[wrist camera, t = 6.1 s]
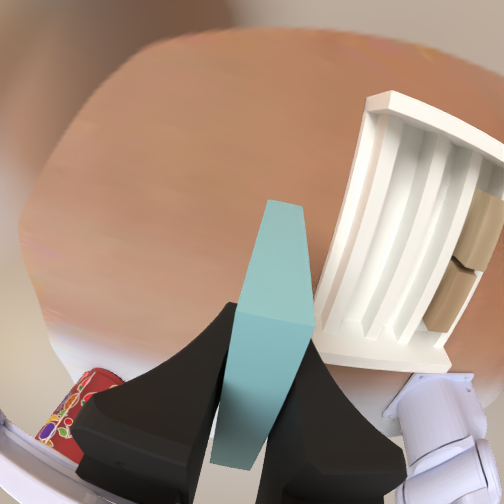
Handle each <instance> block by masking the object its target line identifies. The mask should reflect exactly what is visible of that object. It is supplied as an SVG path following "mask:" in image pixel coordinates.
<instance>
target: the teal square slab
mask: <svg viewBox="0 0 504 504" xmlns="http://www.w3.org/2000/svg"><path fill="white" fill-rule="evenodd" d="M314 328H315V317H314V306H313V294H312V284H311V274H310V264H309V255H308V246H307V238H306V230H305V222H304V214H303V206H299V205H294V204H289V203H285V202H280V201H275V200H270V199H268V202H267V205H266V208H265V212H264V215H263V219H262V222H261V226H260V229H259V233H258V236H257V239H256V243H255V246H254V250H253V253H252V257H251V260H250V263H249V267H248V270H247V274H246V277H245V281H244V284H243V288H242V291H241V294H240V298H239V301H238V305H237V308H236V312H235V318H234V323H233V329H232V335H231V341H230V346H229V352H228V358H227V364H226V370H225V375H224V381H223V387H222V393H221V399H220V405H219V411H218V417H217V422H216V428H215V434H214V440H213V447H212V452H211V458H210V463H213V464H217V465H222V466H227V467H232V468H238V469H243V470H250V469H251V468H252V466H253V464H254V462H255V460H256V458H257V456H258V454H259V452H260V450H261V448H262V446H263V444H264V442H265V440H266V438H267V436H268V434H269V432H270V430H271V428H272V426H273V424H274V422H275V420H276V418H277V416H278V413H279V411H280V409H281V407H282V405H283V403H284V400H285V398H286V396H287V394H288V391H289V389H290V387H291V385H292V382H293V380H294V378H295V375H296V373H297V371H298V368H299V366H300V364H301V361H302V359H303V356H304V354H305V351H306V349H307V346H308V344H309V341H310V339H311V336H312V334H313V331H314Z"/></svg>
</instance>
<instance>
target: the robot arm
mask: <svg viewBox="0 0 504 504" xmlns="http://www.w3.org/2000/svg"><path fill="white" fill-rule="evenodd" d="M237 305H238V304H236V303H232V302H229V303H227V304H226V305H225V307H224V308H223V310H222V311H221V312H220V313H219V315H218V316H217V317H216V318H215V319H214V320H213V322H212V323H211V324H210V325H209V326H208V327H207V328H206V329H205V330H204V331H203V332H202V333H201V334H200V335H199V336H197V337H196V338H195V339H194V340H193V341H192V342H191V343H189V344H188V345H187V346H186V347H185V348H183V349H182V350H181V351H180V352H178V353H177V354H175V355H174V356H173V357H171V358H170V359H168V360H167V361H165V362H164V363H162V364H160V365H159V366H157V367H155V368H154V369H152V370H150V371H148V372H147V373H145V374H142V375H140V376H138V377H136V378H134V379H132V380H130V381H128V382H125V383H123V384H121V385H118V386H115V387H112V388H109V389H107V390H104V391H101V392H98V393H94V394H93V395H92V396H91V397H90V398H89V399H88V401H87V402H86V403H85V404H84V405H83V407H82V408H81V409H80V411H79V413H78V414H77V416H76V418H75V419H74V421H73V423H72V424H71V426H70V432H71V435H72V437H73V439H74V440H75V442H76V443H77V444H78V446H79V447H80V449H81V450H82V452H83V453H84V455H83V457H82V459H81V461H80V463H79V464H77V463H75V462H73V461H71V460H69V459H67V458H66V457H64V456H62V455H60V454H59V453H57V452H55V451H54V450H52V449H50V448H49V447H47V446H45V445H44V444H42V443H41V442H39V441H38V440H36V439H35V438H33V437H31V436H30V435H29V434H27V433H26V432H24V431H23V430H21V429H20V428H19V427H17V426H16V425H14V424H13V423H12V422H11V421H9V420H8V419H7V418H6V416H5V415H4V414H3V412H2V411H1V409H0V487H2V488H3V489H4V490H5V491H6V492H7V493H8V494H10V495H11V496H12V497H13V498H15V499H16V500H17V501H18V502H19V503H21V504H112V503H111V502H114V503H116V504H193V500H194V496H195V492H196V488H197V484H198V480H199V476H200V472H201V468H202V464H203V459H204V456H205V451H206V448H207V443H208V440H209V436H210V432H211V428H212V424H213V420H214V417H215V413H216V410H217V408H218V405H219V402H220V399H221V393H222V387H223V381H224V375H225V370H226V364H227V358H228V352H229V346H230V341H231V335H232V329H233V323H234V318H235V312H236V308H237ZM473 378H474V374H473V373H446V374H440V373H417V372H415V373H414V374H413V375H412V376H411V378H410V379H409V380H408V382H407V383H406V384H405V386H404V387H403V388H402V390H401V391H400V392H399V394H398V395H397V396H396V398H395V399H394V400H393V401H392V403H391V404H390V405H389V406H388V408H387V409H386V410H385V411H384V413H383V414H382V415H383V417H384V418H399V421H400V426H401V430H402V435H403V439H404V444H405V449H406V454H407V460H408V465H409V467H408V468H406V463H405V458H404V454H403V450H402V449H401V448H400V447H399V446H397V445H396V444H395V443H393V442H392V441H391V440H389V439H388V438H387V437H386V436H384V435H383V434H382V433H381V432H379V431H378V430H377V429H376V428H375V427H374V426H373V425H372V424H371V423H370V422H368V421H367V419H366V418H365V417H364V416H363V415H362V414H361V413H360V412H359V411H358V410H357V409H356V408H355V407H354V406H353V404H352V403H351V402H350V401H349V400H348V399H347V397H346V396H345V395H344V393H343V392H342V391H341V389H340V388H339V387H338V385H337V384H336V382H335V381H334V379H333V378H332V376H331V374H330V373H329V371H328V369H327V368H326V366H325V364H324V362H323V361H322V359H321V357H320V355H319V353H318V351H317V349H316V347H315V345H314V343H313V341H312V339H310V341H309V344H308V346H307V349H306V351H305V354H304V356H303V359H302V361H301V364H300V366H299V368H298V371H297V373H296V375H295V378H294V380H293V382H292V385H291V387H290V389H289V391H288V394H287V396H286V398H285V400H284V403H283V405H282V407H281V409H280V411H279V413H278V416H277V418H276V420H275V422H274V424H273V426H272V428H271V430H270V432H269V434H268V440H267V446H266V452H265V458H264V464H263V469H262V474H261V479H260V485H259V489H258V494H257V499H256V503H255V504H384V495H386V494H387V493H389V492H390V491H392V490H394V489H395V488H396V490H395V504H499V503H500V502H501V496H502V489H501V485H500V482H501V481H500V477H499V472H498V469H497V465H496V462H495V459H494V456H493V453H492V450H491V447H490V445H489V442H488V440H485V439H484V437H485V434H486V430H487V419H486V415H485V413H484V410H483V408H482V405H481V403H480V401H479V399H478V396H477V394H476V392H475V390H474V388H473V385H472V383H471V380H472V379H473ZM99 496H100V497H99ZM101 497H102V498H101ZM103 498H105V499H107V500H109V501H111V502H109V501H107V500H105V499H103Z"/></svg>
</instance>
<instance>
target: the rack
mask: <svg viewBox="0 0 504 504" xmlns="http://www.w3.org/2000/svg"><path fill="white" fill-rule="evenodd" d="M475 187H477V188H479V189H481V190H483V191H485V192H487V193H489V194H491V195H493V196H495V197H497V198H499V199H501V200H503V201H504V144H502V143H501V142H499V141H497V140H496V139H494V138H492V137H491V136H489V135H487V134H485V133H484V132H482V131H480V130H478V129H477V128H475V127H473V126H471V125H469V124H467V123H465V122H464V121H462V120H460V119H458V118H456V117H454V116H452V115H450V114H448V113H445V112H443V111H441V110H439V109H437V108H435V107H432V106H430V105H428V104H426V103H423V102H421V101H418V100H416V99H414V98H411V97H409V96H406V95H403V94H401V93H398V92H395V91H393V90H390V91H387V92H383V93H380V94H377V95H373V96H370V97H367V98H366V103H365V108H364V113H363V118H362V123H361V128H360V132H359V137H358V141H357V146H356V150H355V154H354V159H353V163H352V167H351V171H350V175H349V179H348V183H347V187H346V191H345V195H344V199H343V202H342V206H341V210H340V213H339V217H338V220H337V224H336V228H335V231H334V234H333V238H332V241H331V245H330V248H329V251H328V255H327V258H326V261H325V264H324V268H323V271H322V274H321V277H320V280H319V283H318V286H317V289H316V292H315V295H314V298H313V306H314V317H315V328H314V331H313V334H312V336H311V339H312V341H313V343H314V345H315V347H316V349H317V351H318V353H319V355H320V357H321V359H322V361H323V362H324V363H326V364H333V365H341V366H349V367H358V368H367V369H377V370H388V371H401V372H417V373H440V374H446V372H447V371H448V370H449V368H450V367H451V366H452V364H451V362H450V360H449V358H448V356H447V354H446V352H445V350H444V348H443V345H444V344H445V342H446V341H447V339H448V337H449V336H450V334H451V333H452V331H453V329H454V327H455V326H456V324H457V322H458V321H459V319H460V317H461V315H462V313H463V312H464V310H465V308H466V306H467V304H468V302H469V300H470V299H471V297H472V295H473V293H474V291H475V289H476V287H477V285H478V282H479V280H480V278H481V276H482V274H483V272H481V271H477V270H474V269H471V270H472V271H473V272H474V274H475V275H476V276H477V278H476V281H475V283H474V285H473V287H472V289H471V291H470V293H469V295H468V297H467V299H466V301H465V303H464V305H463V306H462V308H461V310H460V312H459V314H458V316H457V317H456V319H455V321H454V323H453V324H452V326H451V328H450V329H449V331H448V333H443V332H435V331H428V329H427V327H426V325H425V323H424V322H423V320H422V317H423V315H424V314H425V312H426V310H427V308H428V306H429V304H430V302H431V300H432V298H433V296H434V294H435V292H436V290H437V288H438V285H439V283H440V281H441V279H442V277H443V275H444V272H445V270H446V268H447V265H448V263H449V261H450V258H451V256H454V255H453V251H454V249H455V246H456V244H457V241H458V238H459V236H460V233H461V230H462V227H463V225H464V222H465V219H466V216H467V213H468V210H469V207H470V204H471V201H472V197H473V194H474V191H475Z"/></svg>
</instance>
